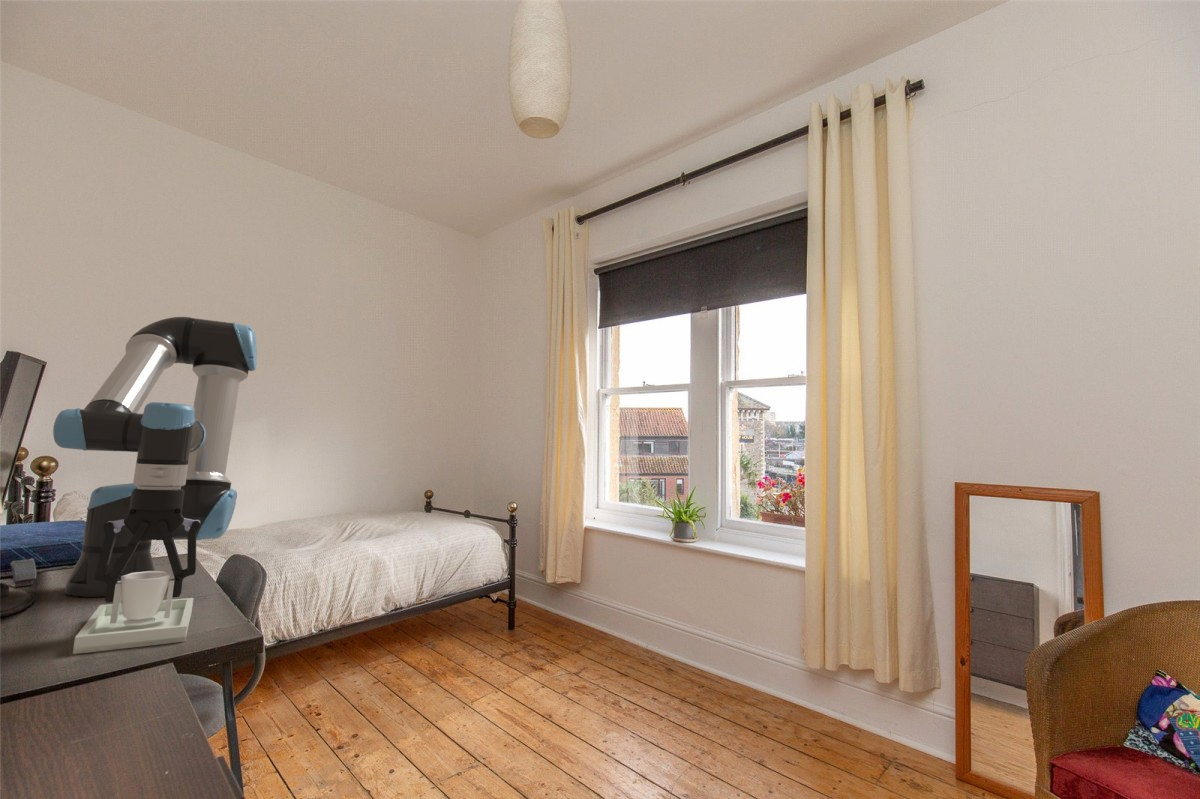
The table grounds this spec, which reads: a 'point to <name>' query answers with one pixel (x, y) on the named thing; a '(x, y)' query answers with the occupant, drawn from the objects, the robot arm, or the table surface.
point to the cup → (143, 596)
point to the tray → (133, 629)
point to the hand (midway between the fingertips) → (141, 618)
